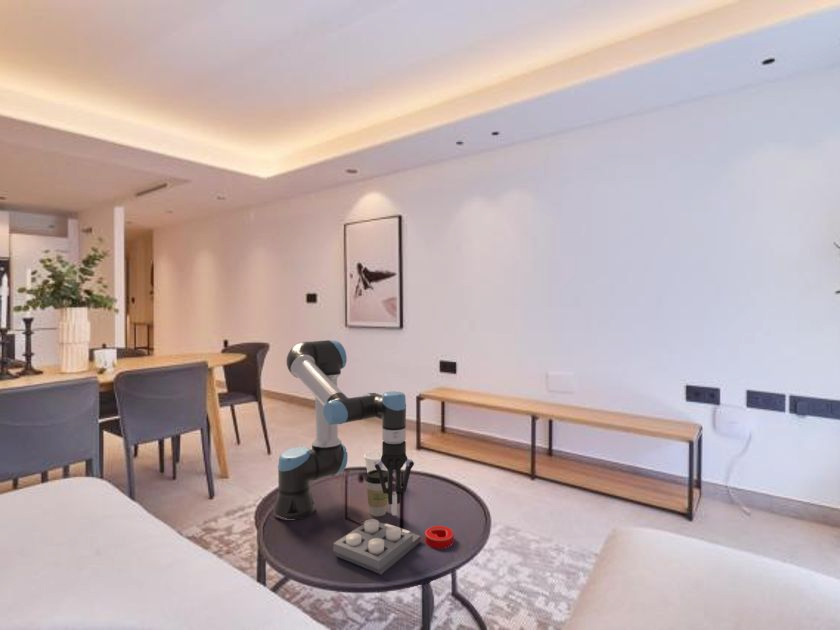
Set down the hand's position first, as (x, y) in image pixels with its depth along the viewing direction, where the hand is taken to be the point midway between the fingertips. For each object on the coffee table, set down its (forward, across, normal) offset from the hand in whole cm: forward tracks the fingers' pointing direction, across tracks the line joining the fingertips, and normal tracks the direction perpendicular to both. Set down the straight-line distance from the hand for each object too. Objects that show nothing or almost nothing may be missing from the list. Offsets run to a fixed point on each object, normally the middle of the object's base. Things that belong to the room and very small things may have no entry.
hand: (394, 513), depth 148 cm
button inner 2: (+9, -7, +7) cm, 13 cm away
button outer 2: (+9, 0, 0) cm, 9 cm away
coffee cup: (+12, -2, +28) cm, 31 cm away
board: (+12, -4, +3) cm, 13 cm away
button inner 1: (+10, -13, 0) cm, 16 cm away
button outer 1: (+9, -6, -6) cm, 12 cm away
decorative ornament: (+13, +16, +3) cm, 21 cm away
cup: (+12, +2, +57) cm, 58 cm away
